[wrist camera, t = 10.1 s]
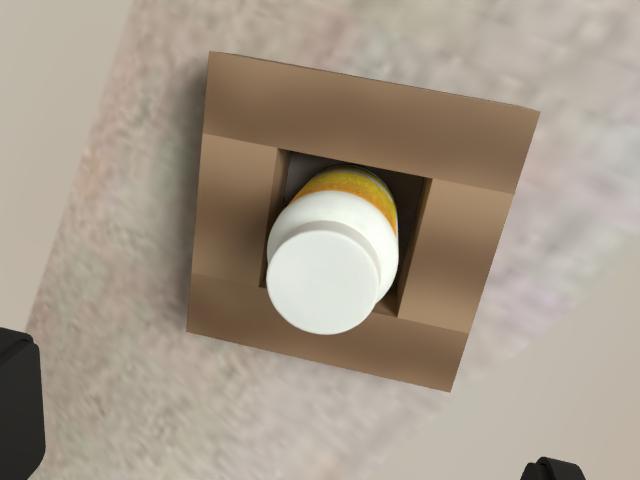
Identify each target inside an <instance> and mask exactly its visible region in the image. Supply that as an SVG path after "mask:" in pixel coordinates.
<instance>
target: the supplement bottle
mask: <svg viewBox="0 0 640 480" xmlns="http://www.w3.org/2000/svg"><path fill="white" fill-rule="evenodd" d="M267 260H268V269H267V275H266V284H267V290H268V294H269V297H270V299H271V301H272V303H273V305H274V307H275V308H276V310H277V311H278V312H279V314H280V315H281V316H282V317H283V318H284V319H285V320H286V321H288V322H289V323H290V324H292V325H293V326H295V327H297V328H299V329H301V330H303V331H307V332H310V333H315V334H324V335H330V334H337V333H341V332H345V331H347V330H350V329H352V328H353V327H355V326H357V325H359V324H360V323H361V322H362V321H363V320H364V319H366V317H367V316H368V315H369V314H370V312H371V311H372V309H373V308H374V306H375V304H376V303H377V302H378V301H379V300H380V299H381V298H382V297H383V296H384V295H385V294H386V292H387V291H388V290H389V288H390V286H391V285H392V283H393V280H394V278H395V275H396V271H397V267H398V219H397V207H396V203H395V200H394V197H393V195H392V193H391V191H390V189H389V188H388V187H387V185H386V184H385V183H384V182H383V181H382V180H381V179H380V178H379V177H378V176H376V175H375V174H373V173H372V172H370V171H368V170H366V169H364V168H361V167H358V166H353V165H338V166H332V167H329V168H326V169H324V170H322V171H321V172H319V173H317V174H316V175H315V176H313V177H312V178H311V179H310V180H309V181H308V182H307V183H306V184H305V186H304V187H303V188H302V189H301V190H300V191H299V193H298V194H297V195H296V196H295V197H294V198H293V200H292V201H291V202H290V203H289V205H288V206H287V207H286V208H285V209H284V210H283V211H282V212H281V213H280V215H279V216H278V218H277V220H276V222H275V223H274V225H273V227H272V230H271V232H270V235H269V239H268V245H267Z"/></svg>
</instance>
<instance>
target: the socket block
mask: <svg viewBox="0 0 640 480" xmlns="http://www.w3.org/2000/svg"><path fill="white" fill-rule="evenodd" d="M539 115H540V111H536V110H532V109H529V108H525V107H521V106H516V105H511V104H506V103H500V102H495V101H489V100H484V99H478V98H473V97H467V96H462V95H456V94H451V93H445V92H440V91H434V90H429V89H423V88H418V87H412V86H407V85H401V84H396V83H390V82H385V81H379V80H374V79H368V78H363V77H357V76H352V75H347V74H341V73H336V72H330V71H325V70H319V69H314V68H308V67H303V66H297V65H292V64H286V63H281V62H275V61H270V60H264V59H259V58H253V57H248V56H242V55H237V54H229V53H221V52H212V51H209V59H208V71H207V84H206V96H205V108H204V121H203V133H202V145H201V158H200V170H199V182H198V195H197V207H196V219H195V232H194V244H193V256H192V269H191V281H190V293H189V306H188V318H187V330H186V332H190V333H194V334H199V335H203V336H207V337H212V338H216V339H220V340H225V341H229V342H233V343H238V344H242V345H246V346H251V347H255V348H259V349H264V350H268V351H272V352H277V353H281V354H285V355H290V356H294V357H298V358H303V359H307V360H311V361H315V362H320V363H324V364H328V365H333V366H337V367H341V368H346V369H350V370H354V371H359V372H363V373H367V374H372V375H376V376H380V377H385V378H389V379H393V380H398V381H402V382H406V383H411V384H415V385H419V386H424V387H428V388H432V389H437V390H441V391H445V392H449V393H450V392H451V389H452V385H453V382H454V379H455V376H456V373H457V370H458V367H459V364H460V361H461V357H462V354H463V351H464V348H465V345H466V342H467V339H468V336H469V333H470V330H471V326H472V323H473V320H474V317H475V314H476V311H477V308H478V305H479V302H480V298H481V295H482V292H483V289H484V286H485V283H486V280H487V277H488V274H489V271H490V267H491V264H492V261H493V258H494V255H495V252H496V249H497V246H498V243H499V239H500V236H501V233H502V230H503V227H504V224H505V221H506V218H507V215H508V212H509V208H510V205H511V202H512V199H513V196H514V193H515V190H516V187H517V184H518V180H519V177H520V174H521V171H522V168H523V165H524V162H525V159H526V156H527V153H528V149H529V146H530V143H531V140H532V137H533V134H534V131H535V128H536V125H537V121H538V118H539ZM291 151H296V152H301V153H306V154H311V155H316V156H321V157H326V158H331V159H336V160H341V161H346V162H352V163H357V164H362V165H367V166H372V167H377V168H382V169H387V170H392V171H397V172H402V173H407V174H412V175H418V176H423V177H424V181H423V185H422V189H421V193H420V197H419V201H418V205H417V209H416V213H415V217H414V221H413V225H412V229H411V233H410V237H409V241H408V245H407V249H406V253H405V257H404V261H403V265H402V269H401V273H400V277H399V281H398V285H397V287H392V286H390V288H389V290H388V291H387V292H386V294H385V295H384V296H383V297H382V298H381V299H380V300H379V301H378V302H377V303H376V304H375V306H374V308H373V309H372V311H371V312H370V314H369V315H368V316H367V317H366V319H364V320H363V321H362V322H361V323H360V324H359V325H357V326H355V327H353V328H352V329H350V330H347V331H345V332H341V333H337V334H330V335H324V334H315V333H310V332H307V331H303V330H301V329H299V328H297V327H295V326H293V325H292V324H290V323H289V322H288V321H286V320H285V319H284V318H283V317H282V316H281V315H280V314H279V312H278V311H277V310H276V308H275V307H274V305H273V303H272V301H271V299H270V297H269V294H268V290H267V284H266V275H267V269H268V260H267V245H268V239H269V235H270V232H271V230H272V227H273V225H274V223H275V222H276V220H277V218H278V216H279V215H280V213H281V212H282V208H283V201H284V194H285V187H286V181H287V174H288V167H289V160H290V153H291Z"/></svg>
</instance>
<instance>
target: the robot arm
mask: <svg viewBox="0 0 640 480" xmlns="http://www.w3.org/2000/svg"><path fill="white" fill-rule="evenodd" d="M45 448H46V445H45V430H44V415H43V399H42V384H41V369H40V354H39V347H38V346H37V344H34V342H33V338H32V337H31V335H29V334H27V333H23V332H18V331H14V330H9V329H5V328H2V327H1V328H0V480H27V479H28V478H29V477H30V476H31V474H32V473H33V472H34V471H35V470H36V469H37V467H38V466H39V465H40V463H41V461H42V459H43V457H44V454H45ZM520 480H586V479H585V477H584V475H583V473H582V471H581V469H580V468H579V466H577V465H576V464H572V463H569V462H564V461H560V460H556V459H551V458H547V457H541V458H539V459H538V461H537V462H536V463H528V464H527V466H526V467H525V470H524V472H523V474H522V477H521V479H520Z"/></svg>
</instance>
